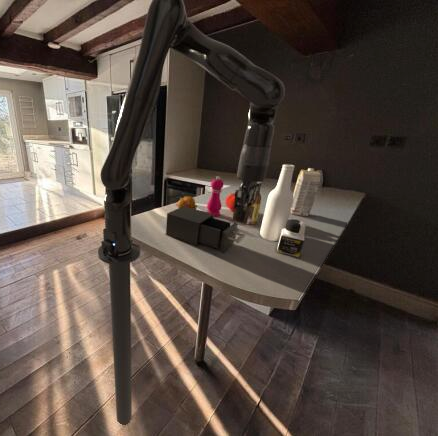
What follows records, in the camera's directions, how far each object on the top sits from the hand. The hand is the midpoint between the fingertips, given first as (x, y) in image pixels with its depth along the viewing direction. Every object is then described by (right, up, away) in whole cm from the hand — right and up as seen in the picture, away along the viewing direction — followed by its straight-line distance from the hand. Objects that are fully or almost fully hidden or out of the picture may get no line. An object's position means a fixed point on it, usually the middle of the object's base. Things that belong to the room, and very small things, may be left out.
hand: (242, 218), depth 71 cm
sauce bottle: (+20, -2, +41) cm, 46 cm away
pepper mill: (+5, +2, +50) cm, 51 cm away
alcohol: (+23, -8, +27) cm, 37 cm away
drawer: (-2, -9, +19) cm, 22 cm away
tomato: (+21, +3, +54) cm, 58 cm away
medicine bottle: (+24, -12, +17) cm, 32 cm away
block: (0, -1, 0) cm, 0 cm away
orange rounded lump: (-8, +3, +51) cm, 52 cm away
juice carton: (+53, +3, +54) cm, 75 cm away
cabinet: (-12, -7, +27) cm, 30 cm away
